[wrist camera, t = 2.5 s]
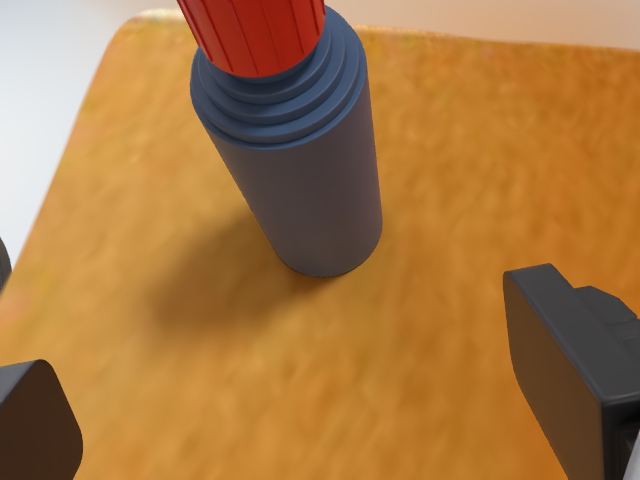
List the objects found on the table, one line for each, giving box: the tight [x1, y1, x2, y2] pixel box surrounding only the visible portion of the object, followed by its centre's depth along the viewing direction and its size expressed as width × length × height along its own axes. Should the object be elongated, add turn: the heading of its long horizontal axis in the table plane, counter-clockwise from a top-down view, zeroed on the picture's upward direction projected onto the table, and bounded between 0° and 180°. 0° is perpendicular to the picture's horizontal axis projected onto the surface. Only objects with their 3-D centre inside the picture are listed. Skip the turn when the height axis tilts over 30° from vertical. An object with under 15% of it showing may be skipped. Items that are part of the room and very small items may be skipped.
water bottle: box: [190, 5, 382, 277], centre depth 24 cm, size 6×6×18 cm
